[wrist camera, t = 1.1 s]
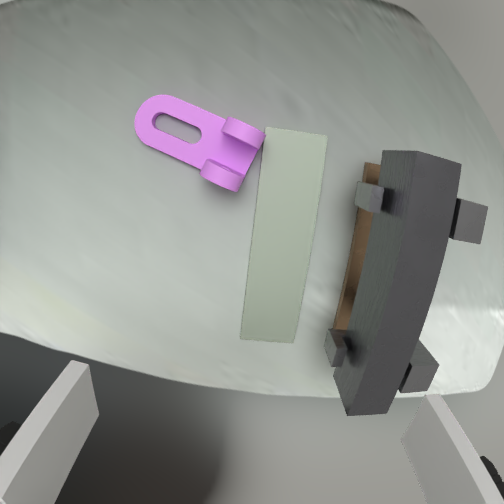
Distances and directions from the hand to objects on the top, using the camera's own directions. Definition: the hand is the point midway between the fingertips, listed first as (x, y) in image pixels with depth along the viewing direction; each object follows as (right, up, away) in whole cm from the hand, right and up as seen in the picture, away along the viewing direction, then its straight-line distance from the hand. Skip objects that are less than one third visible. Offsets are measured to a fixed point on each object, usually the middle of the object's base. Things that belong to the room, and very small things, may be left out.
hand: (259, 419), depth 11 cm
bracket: (-6, +18, +21) cm, 28 cm away
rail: (+11, +4, +17) cm, 20 cm away
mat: (+3, +7, +24) cm, 25 cm away
